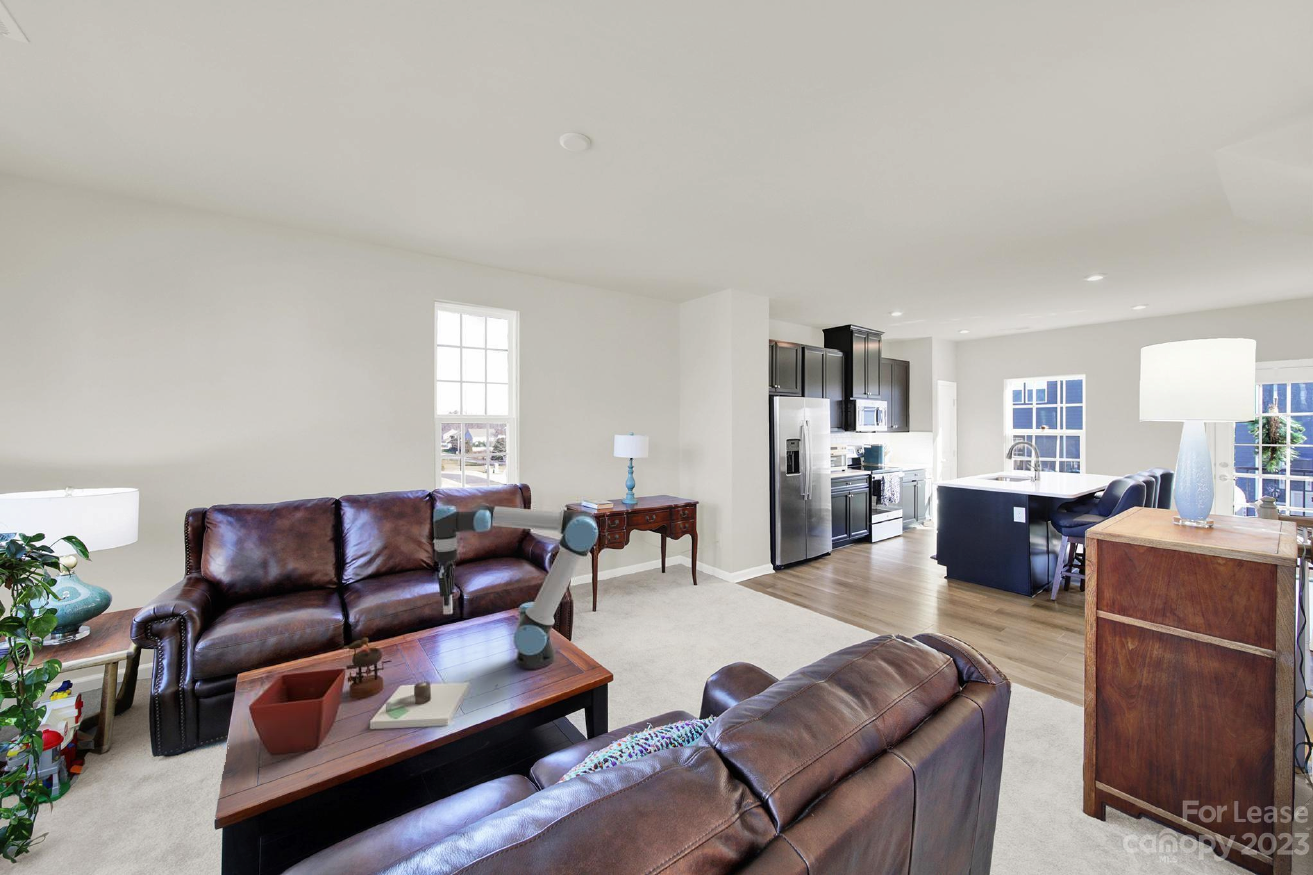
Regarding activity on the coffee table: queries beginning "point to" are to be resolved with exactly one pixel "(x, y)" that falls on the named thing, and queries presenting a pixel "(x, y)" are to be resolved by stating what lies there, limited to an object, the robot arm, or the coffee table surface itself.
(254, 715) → the plant pot
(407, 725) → the board
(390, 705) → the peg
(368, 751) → the coffee table surface
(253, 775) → the coffee table surface
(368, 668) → the music box
